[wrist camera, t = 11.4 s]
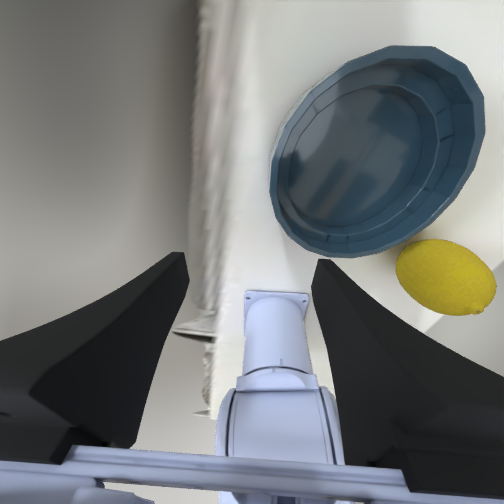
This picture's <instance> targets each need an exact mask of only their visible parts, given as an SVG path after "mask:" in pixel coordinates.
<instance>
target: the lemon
mask: <svg viewBox="0 0 504 504" xmlns="http://www.w3.org/2000/svg"><path fill="white" fill-rule="evenodd" d="M396 275H397V277H398V280H399V282H400V284H401V286H402V287H403V288H404V290H405V291H406V292H407V293H408V294H409V295H410V296H411V297H412V298H413V299H415V300H416V301H417V302H418V303H420V304H421V305H423V306H424V307H426V308H428V309H430V310H432V311H435V312H437V313H441V314H446V315H454V316H461V315H469V314H480V313H482V312H483V311H484V308H485V307H487V306H488V305H489V304H490V303H491V301H492V300H493V298H494V296H495V293H496V281H495V278H494V275H493V273H492V272H491V270H490V269H489V268H488V266H487V265H486V264H485V263H484V262H483V261H482V260H481V259H480V258H479V257H478V256H477V255H475V254H474V253H473V252H472V251H470V250H468V249H467V248H465V247H463V246H461V245H458V244H456V243H453V242H450V241H446V240H439V239H429V240H422V241H418V242H415V243H413V244H411V245H409V246H408V247H406V248H405V249H404V250H403V251H402V252H401V253H400V255H399V256H398V258H397V261H396Z"/></svg>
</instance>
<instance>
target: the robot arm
mask: <svg viewBox="0 0 504 504" xmlns="http://www.w3.org/2000/svg"><path fill="white" fill-rule="evenodd" d="M189 281H190V279H189V275H188V270H187V265H186V260H185V255H184V253H183V252H172V253H170V254H169V255H167V256H166V257H165V258H163V259H162V260H160V261H159V262H157V263H156V264H155V265H153V266H152V267H150V268H149V269H148V270H146V271H145V272H143V273H142V274H140V275H139V276H137V277H136V278H134V279H133V280H131V281H129V282H128V283H126V284H125V285H123V286H122V287H120V288H118V289H117V290H115V291H113V292H112V293H110V294H108V295H106V296H104V297H102V298H101V299H99V300H97V301H95V302H93V303H91V304H89V305H87V306H85V307H83V308H81V309H78V310H77V311H74V312H72V313H70V314H68V315H66V316H63V317H61V318H59V319H56V320H54V321H52V322H49V323H47V324H44V325H42V326H39V327H37V328H34V329H32V330H29V331H27V332H24V333H21V334H18V335H15V336H13V337H10V338H7V339H4V340H2V341H0V504H155V503H154V501H151V500H147V499H143V498H141V497H138V496H136V495H135V494H134V493H131V492H124V491H118V490H110V489H105V486H104V483H103V482H112V483H125V484H138V485H150V486H162V487H175V488H188V489H201V490H213V491H219V504H355V502H363V503H364V504H504V377H503V376H501V375H499V374H497V373H495V372H493V371H491V370H489V369H487V368H485V367H483V366H481V365H478V364H477V363H475V362H473V361H471V360H469V359H467V358H465V357H463V356H461V355H459V354H458V353H456V352H454V351H452V350H451V349H449V348H447V347H445V346H443V345H442V344H440V343H438V342H436V341H435V340H433V339H431V338H430V337H428V336H426V335H425V334H423V333H422V332H420V331H418V330H417V329H415V328H414V327H412V326H411V325H409V324H407V323H406V322H404V321H403V320H402V319H400V318H399V317H397V316H396V315H394V314H393V313H392V312H390V311H389V310H388V309H386V308H385V307H383V306H382V305H381V304H380V303H378V302H377V301H376V300H375V299H373V298H372V297H371V296H370V295H369V294H367V293H366V292H365V291H364V290H363V289H361V288H360V287H359V286H358V285H357V284H356V283H355V282H354V281H353V280H352V279H351V278H349V277H348V276H347V275H346V274H345V273H344V272H343V271H342V270H341V269H340V268H339V267H338V266H337V265H336V264H335V263H334V262H333V261H332V260H330V259H318V263H317V266H316V270H315V274H314V278H313V281H312V285H311V290H312V297H313V303H314V307H315V310H316V314H317V317H318V320H319V324H320V327H321V330H322V334H323V337H324V340H325V344H326V348H327V352H328V357H329V362H330V367H331V372H332V378H333V384H334V389H335V395H336V399H335V397H334V395H333V394H332V393H331V392H330V391H329V390H328V389H327V388H326V387H325V386H318V381H317V376H316V375H315V374H313V370H312V365H311V360H310V354H309V349H308V344H307V338H306V333H305V328H304V323H303V320H304V316H305V313H306V309H307V305H308V302H309V295H308V294H299V293H280V292H261V291H246V292H245V294H244V336H245V347H244V359H243V371H242V376H240V377H237V383H236V388H232V389H230V390H229V391H228V393H227V395H226V396H225V397H224V399H223V401H222V403H221V406H220V409H219V414H218V419H217V425H216V435H215V455H201V454H188V453H175V452H161V451H148V450H135V449H129V448H130V447H132V445H133V444H134V443H135V442H136V439H137V435H138V430H139V427H140V423H141V419H142V415H143V411H144V407H145V404H146V400H147V397H148V393H149V390H150V386H151V383H152V380H153V376H154V373H155V370H156V367H157V364H158V360H159V358H160V355H161V352H162V349H163V345H164V343H165V340H166V338H167V335H168V333H169V331H170V329H171V326H172V324H173V322H174V320H175V318H176V316H177V313H178V311H179V309H180V307H181V305H182V302H183V300H184V298H185V295H186V292H187V289H188V285H189ZM248 297H250V298H248ZM303 300H304V301H303Z"/></svg>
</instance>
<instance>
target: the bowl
mask: <svg viewBox="0 0 504 504" xmlns="http://www.w3.org/2000/svg"><path fill="white" fill-rule="evenodd" d="M484 135H485V111H484V96H483V94H482V92H481V90H480V89H479V87H478V85H477V83H476V81H475V80H474V78H473V76H472V74H471V73H470V71H469V69H468V67H467V66H466V65H465V64H464V63H462V62H460V61H459V60H457V59H455V58H453V57H452V56H450V55H448V54H446V53H445V52H443V51H441V50H439V49H437V48H436V47H432V46H398V45H392V46H388V47H385V48H382V49H380V50H377V51H375V52H372V53H369V54H367V55H364V56H361V57H359V58H356V59H354V60H351V61H348V62H347V63H345V64H343V65H342V66H340V67H339V68H337V69H335V70H334V71H332V72H331V73H329V74H328V75H327V76H325V77H324V78H323V79H322V80H320V81H319V82H318V83H316V84H315V85H314V86H313V87H311V88H310V89H309V90H308V91H306V92H305V93H304V94H303V95H302V96H301V97H300V98H299V100H298V101H297V102H296V104H295V105H294V107H293V108H292V109H291V111H290V112H289V114H288V115H287V116H286V118H285V119H284V121H283V122H282V124H281V126H280V128H279V131H278V134H277V136H276V139H275V142H274V145H273V147H272V150H271V154H270V165H269V193H270V197H271V201H272V205H273V209H274V213H275V217H276V219H277V220H278V222H279V223H280V225H281V226H282V228H283V229H284V230H285V232H286V233H287V235H288V236H289V237H290V238H291V239H292V240H294V241H295V242H296V243H298V244H299V245H301V246H302V247H303V248H305V249H306V250H308V251H311V252H314V253H317V254H320V255H323V256H326V257H335V258H356V257H362V256H367V255H372V254H377V253H380V252H382V251H385V250H387V249H389V248H392V247H394V246H397V245H399V244H401V243H404V242H406V241H407V240H408V239H410V238H411V237H413V236H414V235H416V234H417V233H419V232H420V231H422V230H423V229H425V228H426V227H428V226H429V225H430V224H432V223H433V222H434V221H435V220H436V219H437V218H438V217H439V215H440V214H441V213H442V212H443V211H444V210H445V209H446V208H447V207H448V206H449V205H450V204H451V203H452V202H453V201H454V200H455V199H456V197H457V196H458V194H459V193H460V191H461V189H462V188H463V186H464V184H465V183H466V181H467V180H468V178H469V176H470V175H471V173H472V172H473V170H474V168H475V165H476V162H477V159H478V155H479V152H480V149H481V145H482V142H483V139H484Z"/></svg>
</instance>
